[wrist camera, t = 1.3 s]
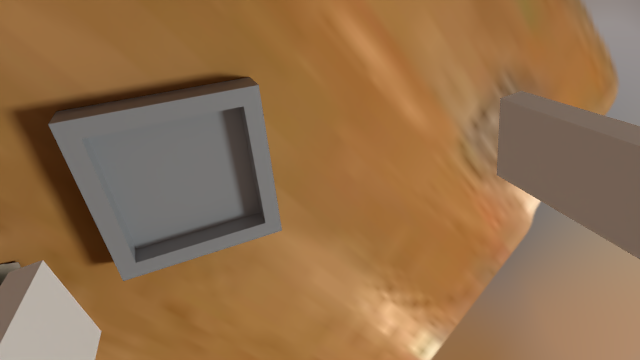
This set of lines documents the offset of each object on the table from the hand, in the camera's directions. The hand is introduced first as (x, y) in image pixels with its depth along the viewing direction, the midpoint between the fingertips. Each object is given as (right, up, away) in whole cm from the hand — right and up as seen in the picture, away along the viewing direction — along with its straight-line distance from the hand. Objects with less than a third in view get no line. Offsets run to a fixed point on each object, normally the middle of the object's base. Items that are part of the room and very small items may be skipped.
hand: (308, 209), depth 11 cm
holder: (-12, +1, +23) cm, 26 cm away
